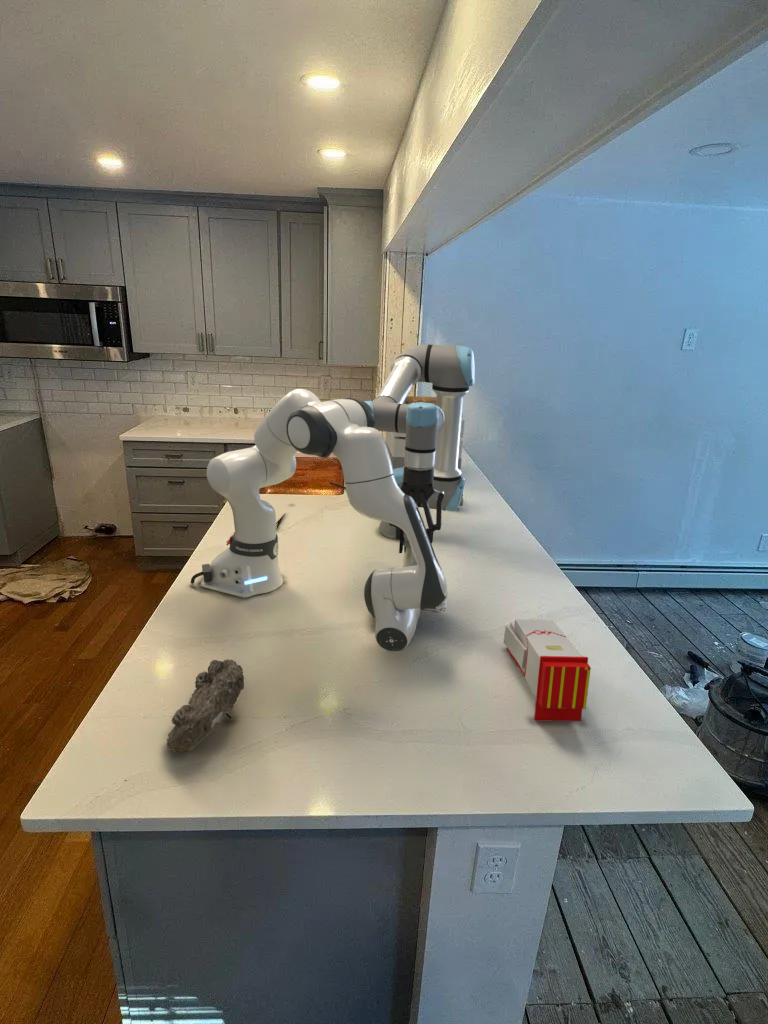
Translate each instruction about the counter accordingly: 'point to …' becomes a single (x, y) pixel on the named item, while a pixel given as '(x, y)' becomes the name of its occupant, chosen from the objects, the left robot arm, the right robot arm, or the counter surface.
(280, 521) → the feather
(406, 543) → the lid
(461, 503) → the figurine character
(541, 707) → the toy
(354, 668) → the counter surface
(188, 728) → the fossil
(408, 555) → the bottle
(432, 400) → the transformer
